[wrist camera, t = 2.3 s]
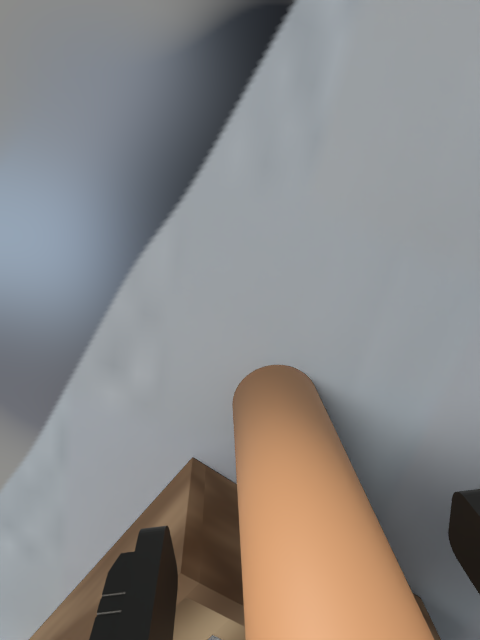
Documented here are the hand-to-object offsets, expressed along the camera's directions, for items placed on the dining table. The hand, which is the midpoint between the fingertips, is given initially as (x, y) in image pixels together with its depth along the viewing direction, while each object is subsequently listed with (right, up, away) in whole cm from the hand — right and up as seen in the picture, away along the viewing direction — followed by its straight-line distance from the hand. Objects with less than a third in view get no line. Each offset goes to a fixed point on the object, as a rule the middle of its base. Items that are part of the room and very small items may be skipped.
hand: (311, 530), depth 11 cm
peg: (0, +2, +7) cm, 8 cm away
